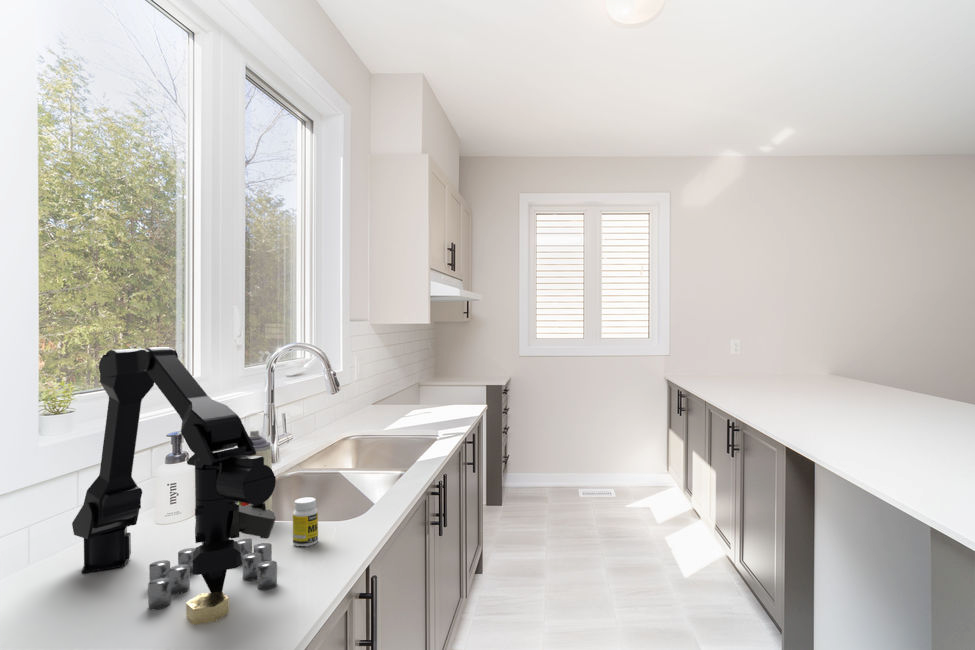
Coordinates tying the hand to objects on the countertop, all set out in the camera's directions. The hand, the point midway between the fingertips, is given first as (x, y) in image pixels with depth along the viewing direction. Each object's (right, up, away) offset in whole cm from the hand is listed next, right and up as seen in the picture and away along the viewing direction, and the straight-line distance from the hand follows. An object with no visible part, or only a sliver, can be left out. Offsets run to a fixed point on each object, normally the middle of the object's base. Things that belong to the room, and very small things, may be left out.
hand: (217, 596), depth 90 cm
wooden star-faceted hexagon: (0, -1, -4) cm, 4 cm away
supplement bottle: (+6, -1, +25) cm, 26 cm away
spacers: (-5, -1, +8) cm, 10 cm away
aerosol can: (-9, -2, +38) cm, 39 cm away
